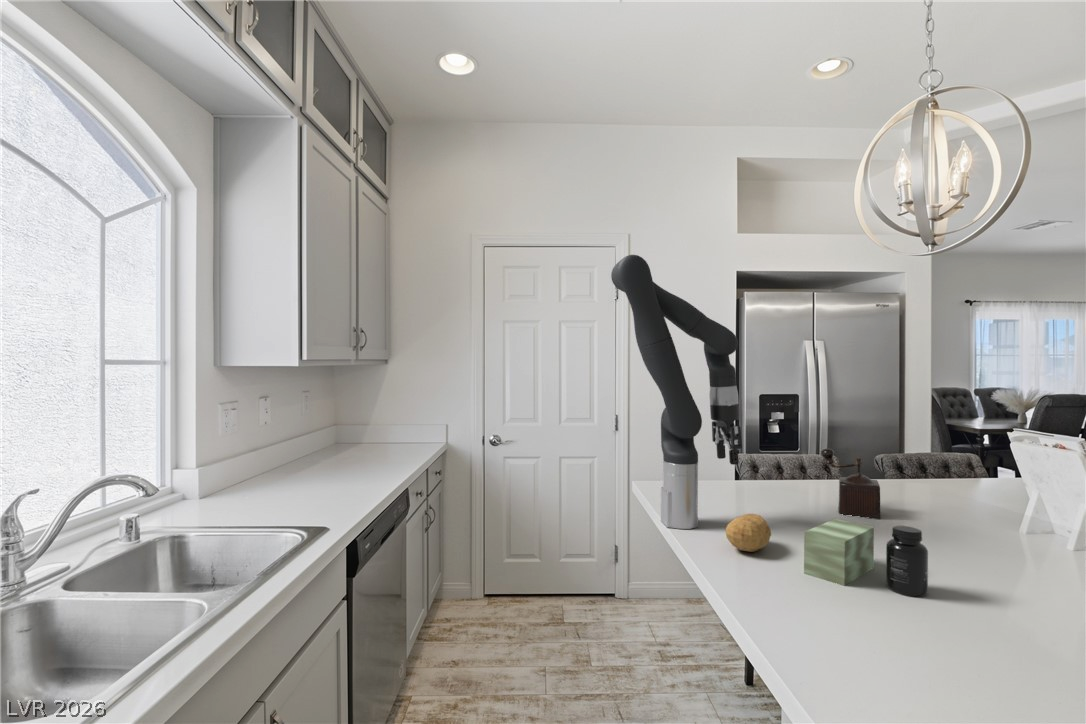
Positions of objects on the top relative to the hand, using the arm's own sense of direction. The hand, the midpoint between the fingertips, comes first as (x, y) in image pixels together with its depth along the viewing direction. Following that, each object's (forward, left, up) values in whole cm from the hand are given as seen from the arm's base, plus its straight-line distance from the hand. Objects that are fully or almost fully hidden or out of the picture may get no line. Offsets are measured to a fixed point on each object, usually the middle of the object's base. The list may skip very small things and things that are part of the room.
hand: (727, 461), depth 149 cm
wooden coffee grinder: (+42, +10, -17) cm, 46 cm away
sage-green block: (+10, -34, -17) cm, 40 cm away
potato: (-3, -20, -17) cm, 27 cm away
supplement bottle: (+17, -44, -17) cm, 51 cm away
